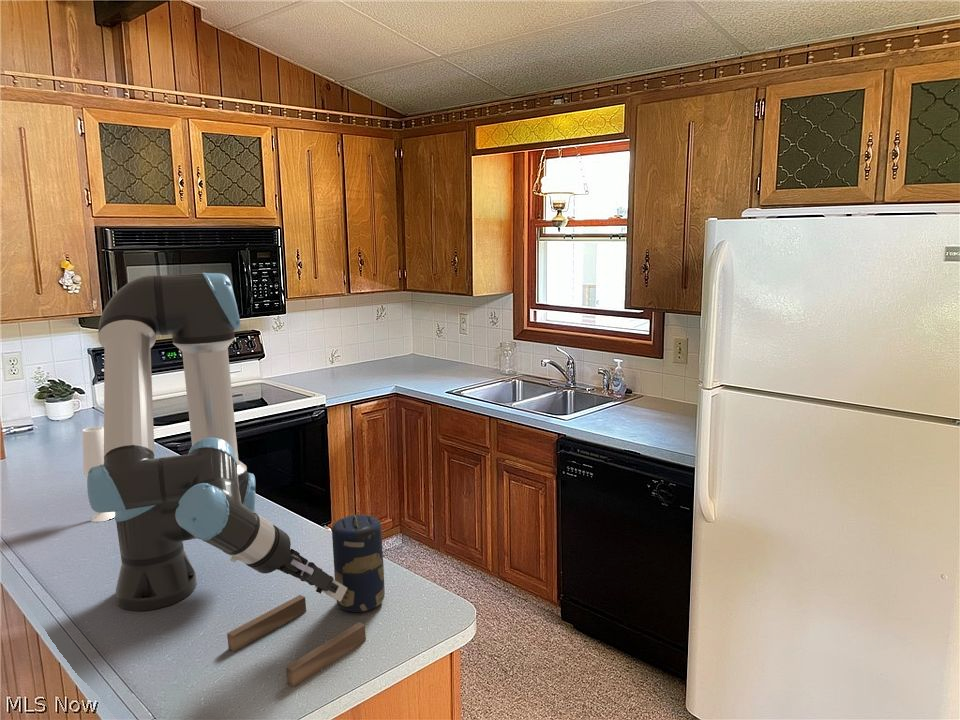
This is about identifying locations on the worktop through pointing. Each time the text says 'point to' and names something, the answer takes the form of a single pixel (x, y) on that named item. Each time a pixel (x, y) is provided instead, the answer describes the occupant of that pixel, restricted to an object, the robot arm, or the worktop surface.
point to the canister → (359, 561)
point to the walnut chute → (311, 660)
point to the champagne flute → (94, 458)
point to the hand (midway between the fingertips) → (341, 593)
